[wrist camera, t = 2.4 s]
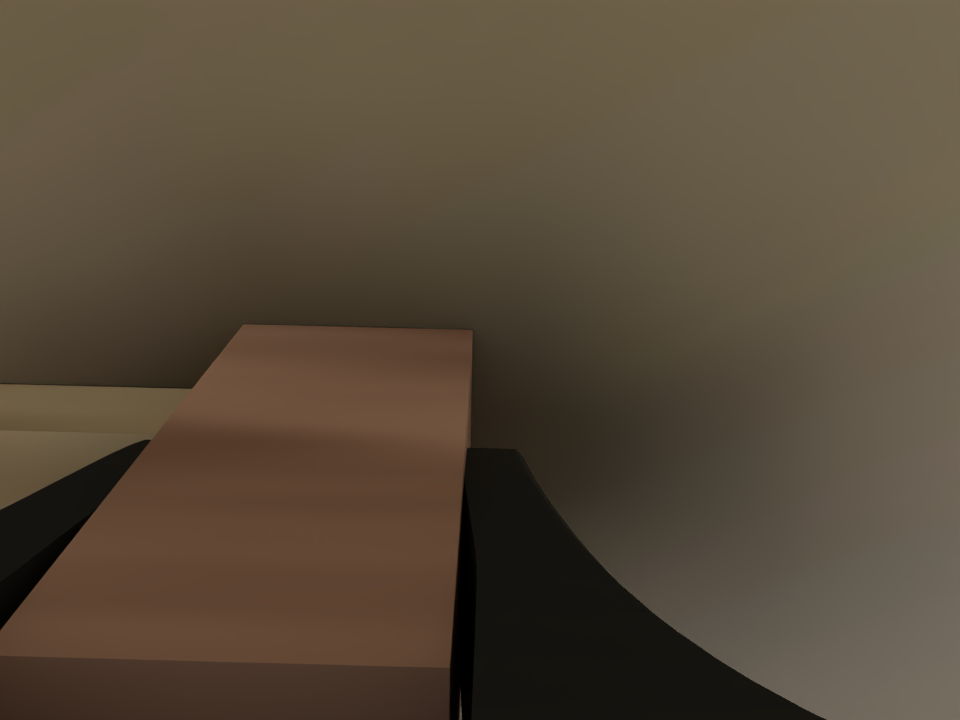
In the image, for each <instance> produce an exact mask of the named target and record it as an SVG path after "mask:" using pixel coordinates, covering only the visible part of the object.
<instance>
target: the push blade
mask: <svg viewBox="0 0 960 720" xmlns="http://www.w3.org/2000/svg"><path fill="white" fill-rule="evenodd" d="M472 345H473V330H458V329H418V328H377V327H337V326H296V325H255V324H243V325H242V327H241V328H240V329H239V330H238V332H237V333H236V334H235V335H234V337H233V338H232V339H231V340H230V342H229V343H228V344H227V345H226V347H225V348H224V349H223V350H222V352H221V353H220V354H219V356H218V357H217V358H216V359H215V361H214V362H213V363H212V364H211V366H210V367H209V368H208V369H207V371H206V372H205V373H204V374H203V376H202V377H201V378H200V379H199V381H198V382H197V383H196V384H195V386H194V387H193V388H192V389H178V388H138V387H98V386H58V385H18V384H0V510H1V509H3V508H5V507H7V506H9V505H11V504H13V503H15V502H17V501H19V500H21V499H23V498H25V497H27V496H29V495H31V494H33V493H35V492H36V491H38V490H40V489H42V488H44V487H46V486H48V485H50V484H52V483H54V482H56V481H58V480H60V479H62V478H64V477H66V476H68V475H70V474H72V473H74V472H75V471H77V470H79V469H81V468H83V467H85V466H87V465H89V464H91V463H93V462H95V461H97V460H99V459H101V458H103V457H105V456H107V455H109V454H111V453H113V452H115V451H118V450H120V449H122V448H124V447H127V446H129V445H131V444H134V443H137V442H140V441H143V440H151V441H150V442H149V444H148V445H147V446H146V448H145V449H144V450H143V451H142V453H141V454H140V455H139V456H138V458H137V459H136V460H135V461H134V463H133V464H132V465H131V466H130V468H129V469H128V470H127V471H126V473H125V474H124V475H123V476H122V478H121V479H120V480H119V482H118V483H117V484H116V485H115V487H114V488H113V489H112V490H111V492H110V493H109V494H108V495H107V497H106V498H105V499H104V500H103V502H102V503H101V504H100V505H99V507H98V508H97V509H96V511H95V512H94V513H93V514H92V516H91V517H90V518H89V519H88V521H87V522H86V523H85V524H84V526H83V527H82V528H81V529H80V531H79V532H78V533H77V534H76V536H75V537H74V538H73V539H72V541H71V542H70V543H69V545H68V546H67V547H66V548H65V550H64V551H63V552H62V553H61V555H60V556H59V557H58V558H57V560H56V561H55V562H54V563H53V565H52V566H51V567H50V568H49V570H48V571H47V572H46V574H45V575H44V576H43V577H42V579H41V580H40V581H39V582H38V584H37V585H36V586H35V587H34V589H33V590H32V591H31V592H30V594H29V595H28V596H27V597H26V599H25V600H24V601H23V603H22V604H21V605H20V606H19V608H18V609H17V610H16V611H15V613H14V614H13V615H12V616H11V618H10V619H9V620H8V621H7V623H6V624H5V625H4V626H3V628H2V629H1V630H0V720H460V701H461V690H460V688H461V627H462V566H463V505H464V472H465V462H466V453H467V448H471V397H472Z"/></svg>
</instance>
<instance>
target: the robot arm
mask: <svg viewBox="0 0 960 720" xmlns="http://www.w3.org/2000/svg"><path fill="white" fill-rule="evenodd" d="M150 441H151V440H143V441H140V442H137V443H134V444H131V445H129V446H127V447H124V448H122V449H120V450H118V451H115V452H113V453H111V454H109V455H107V456H105V457H103V458H101V459H99V460H97V461H95V462H93V463H91V464H89V465H87V466H85V467H83V468H81V469H79V470H77V471H75V472H74V473H72V474H70V475H68V476H66V477H64V478H62V479H60V480H58V481H56V482H54V483H52V484H50V485H48V486H46V487H44V488H42V489H40V490H38V491H36V492H35V493H33V494H31V495H29V496H27V497H25V498H23V499H21V500H19V501H17V502H15V503H13V504H11V505H9V506H7V507H5V508H3V509H1V510H0V630H1V629H2V628H3V626H4V625H5V624H6V623H7V621H8V620H9V619H10V618H11V616H12V615H13V614H14V613H15V611H16V610H17V609H18V608H19V606H20V605H21V604H22V603H23V601H24V600H25V599H26V597H27V596H28V595H29V594H30V592H31V591H32V590H33V589H34V587H35V586H36V585H37V584H38V582H39V581H40V580H41V579H42V577H43V576H44V575H45V574H46V572H47V571H48V570H49V568H50V567H51V566H52V565H53V563H54V562H55V561H56V560H57V558H58V557H59V556H60V555H61V553H62V552H63V551H64V550H65V548H66V547H67V546H68V545H69V543H70V542H71V541H72V539H73V538H74V537H75V536H76V534H77V533H78V532H79V531H80V529H81V528H82V527H83V526H84V524H85V523H86V522H87V521H88V519H89V518H90V517H91V516H92V514H93V513H94V512H95V511H96V509H97V508H98V507H99V505H100V504H101V503H102V502H103V500H104V499H105V498H106V497H107V495H108V494H109V493H110V492H111V490H112V489H113V488H114V487H115V485H116V484H117V483H118V482H119V480H120V479H121V478H122V476H123V475H124V474H125V473H126V471H127V470H128V469H129V468H130V466H131V465H132V464H133V463H134V461H135V460H136V459H137V458H138V456H139V455H140V454H141V453H142V451H143V450H144V449H145V448H146V446H147V445H148V444H149V442H150ZM460 690H461V706H462V720H826V719H824V718H822V717H819V716H817V715H815V714H813V713H811V712H809V711H807V710H805V709H803V708H801V707H799V706H798V705H796V704H794V703H792V702H790V701H788V700H787V699H785V698H783V697H781V696H779V695H777V694H776V693H774V692H772V691H770V690H768V689H767V688H765V687H763V686H761V685H759V684H757V683H756V682H754V681H752V680H750V679H749V678H747V677H745V676H744V675H742V674H740V673H739V672H737V671H736V670H734V669H732V668H731V667H729V666H727V665H726V664H724V663H722V662H721V661H719V660H718V659H716V658H715V657H713V656H712V655H710V654H709V653H707V652H706V651H705V650H703V649H702V648H700V647H699V646H697V645H696V644H694V643H693V642H692V641H690V640H689V639H687V638H686V637H684V636H683V635H681V634H680V633H679V632H677V631H676V630H674V629H673V628H672V627H670V626H669V625H668V624H667V623H665V622H664V621H663V620H661V619H660V618H659V617H657V616H656V615H655V614H654V613H652V612H651V611H650V610H649V609H648V608H647V607H645V606H644V605H643V604H642V603H641V602H640V601H639V600H637V599H636V598H635V597H634V596H633V595H632V594H630V593H629V592H628V591H627V590H626V589H625V588H623V587H622V586H621V585H620V584H619V583H618V582H617V581H616V580H615V579H614V578H613V577H612V576H611V575H610V574H609V573H608V572H607V571H606V570H605V569H604V568H603V566H602V565H601V564H600V563H599V562H598V561H597V560H596V559H595V558H594V557H593V556H592V554H591V553H590V552H589V551H588V550H587V549H586V548H585V546H584V545H583V544H582V543H581V542H580V540H579V539H578V538H577V537H576V536H575V534H574V533H573V532H572V530H571V529H570V528H569V527H568V525H567V524H566V523H565V521H564V520H563V519H562V517H561V516H560V515H559V514H558V512H557V511H556V510H555V508H554V507H553V505H552V504H551V503H550V501H549V500H548V498H547V497H546V495H545V494H544V492H543V491H542V489H541V488H540V486H539V485H538V483H537V481H536V480H535V478H534V476H533V475H532V473H531V471H530V469H529V468H528V466H527V464H526V462H525V459H524V458H523V457H522V456H521V455H520V453H519V452H518V451H517V450H516V449H490V448H467V453H466V462H465V472H464V505H463V566H462V627H461V688H460Z"/></svg>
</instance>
